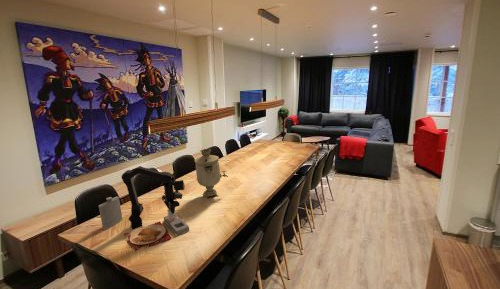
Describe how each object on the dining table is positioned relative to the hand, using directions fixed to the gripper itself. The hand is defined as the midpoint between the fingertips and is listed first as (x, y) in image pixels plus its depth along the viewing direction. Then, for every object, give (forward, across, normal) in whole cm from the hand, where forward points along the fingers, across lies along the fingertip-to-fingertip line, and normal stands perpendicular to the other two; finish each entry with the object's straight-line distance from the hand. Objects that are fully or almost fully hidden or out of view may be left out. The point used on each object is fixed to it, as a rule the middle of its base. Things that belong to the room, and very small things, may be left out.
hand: (171, 212), depth 183 cm
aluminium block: (+4, 0, 0) cm, 4 cm away
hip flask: (+8, +26, +33) cm, 43 cm away
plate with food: (+9, -7, +19) cm, 22 cm away
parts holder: (+8, -6, 0) cm, 10 cm away
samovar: (+8, +21, -44) cm, 49 cm away
